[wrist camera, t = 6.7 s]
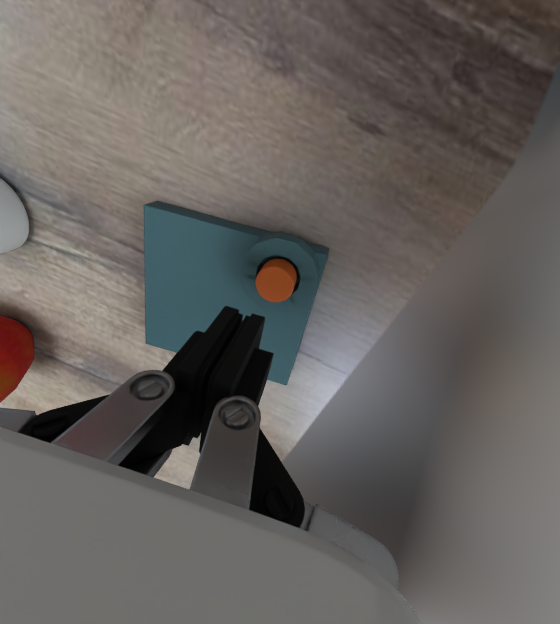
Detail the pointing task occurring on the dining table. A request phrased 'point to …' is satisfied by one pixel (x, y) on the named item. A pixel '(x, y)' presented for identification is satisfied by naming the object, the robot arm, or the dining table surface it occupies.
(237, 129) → the dining table surface
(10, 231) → the water bottle
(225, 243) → the teal knob panel
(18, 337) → the apple
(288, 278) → the button
